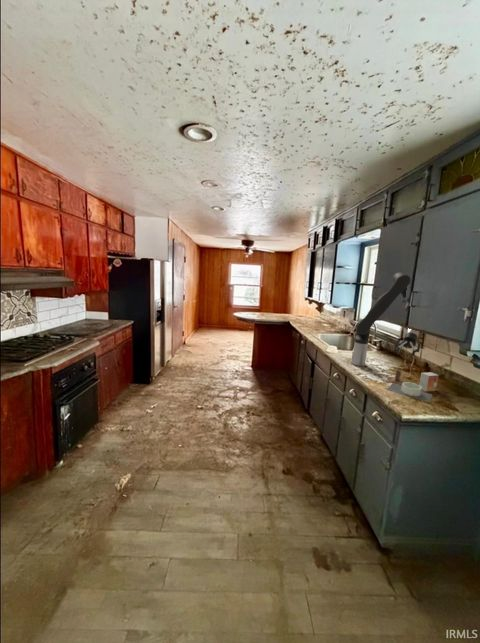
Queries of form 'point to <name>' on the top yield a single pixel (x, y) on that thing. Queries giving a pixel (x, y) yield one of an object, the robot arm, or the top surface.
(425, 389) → the small box
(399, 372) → the lid
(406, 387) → the bowl
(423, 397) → the mat
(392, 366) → the top surface
